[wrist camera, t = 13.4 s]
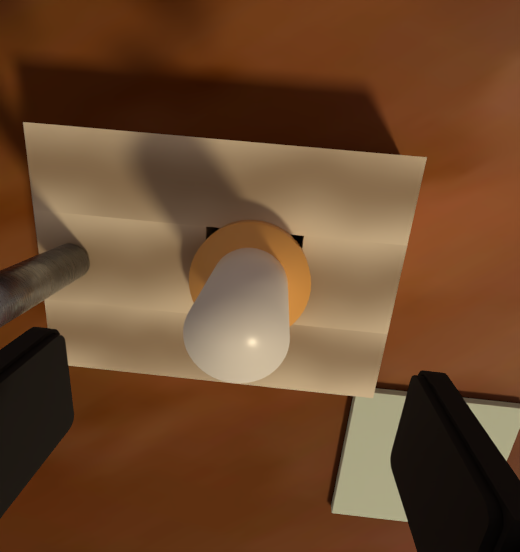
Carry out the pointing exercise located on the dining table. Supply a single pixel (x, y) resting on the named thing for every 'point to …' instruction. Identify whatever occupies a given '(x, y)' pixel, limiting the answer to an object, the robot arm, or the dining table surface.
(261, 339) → the plug
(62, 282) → the grey bar
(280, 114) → the dining table surface
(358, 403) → the mat
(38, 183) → the socket block
